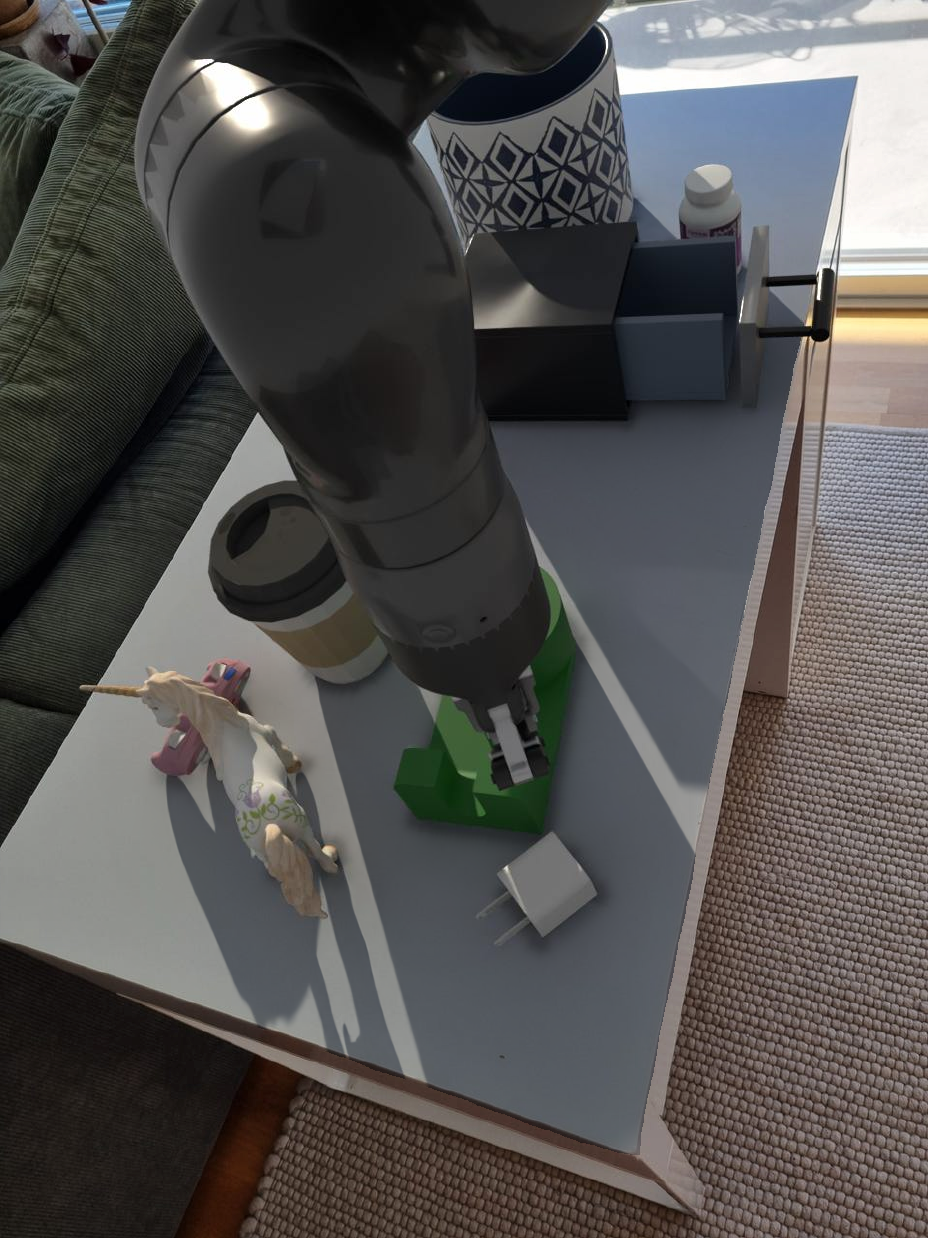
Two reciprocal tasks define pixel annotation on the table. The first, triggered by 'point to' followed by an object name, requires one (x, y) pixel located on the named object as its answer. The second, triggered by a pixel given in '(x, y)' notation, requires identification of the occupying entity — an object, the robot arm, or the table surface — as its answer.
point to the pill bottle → (711, 206)
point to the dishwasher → (550, 321)
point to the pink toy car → (184, 738)
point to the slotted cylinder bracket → (458, 755)
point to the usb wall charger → (544, 886)
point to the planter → (537, 145)
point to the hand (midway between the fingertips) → (523, 749)
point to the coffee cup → (292, 584)
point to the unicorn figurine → (245, 779)
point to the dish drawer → (703, 317)
